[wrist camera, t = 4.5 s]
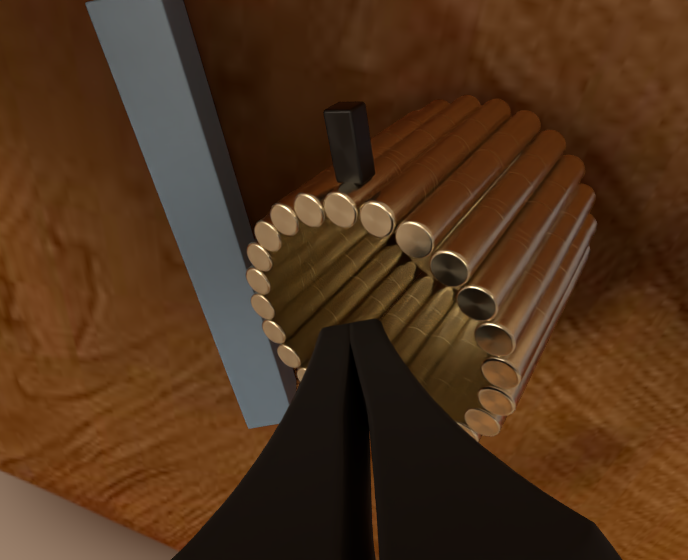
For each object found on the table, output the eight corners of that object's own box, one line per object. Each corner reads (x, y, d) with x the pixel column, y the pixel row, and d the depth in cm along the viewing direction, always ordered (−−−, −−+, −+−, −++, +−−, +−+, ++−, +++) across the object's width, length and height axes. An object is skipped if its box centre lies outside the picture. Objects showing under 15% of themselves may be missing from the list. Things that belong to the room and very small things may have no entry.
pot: (441, 22, 18) (767, 28, 10) (458, 283, 23) (673, 421, 16) (162, 98, 15) (310, 198, 7) (260, 378, 20) (403, 610, 12)
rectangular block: (179, -15, 16) (157, -14, 13) (296, 381, 24) (294, 421, 22) (115, -2, 16) (83, 2, 14) (253, 388, 24) (248, 429, 22)
